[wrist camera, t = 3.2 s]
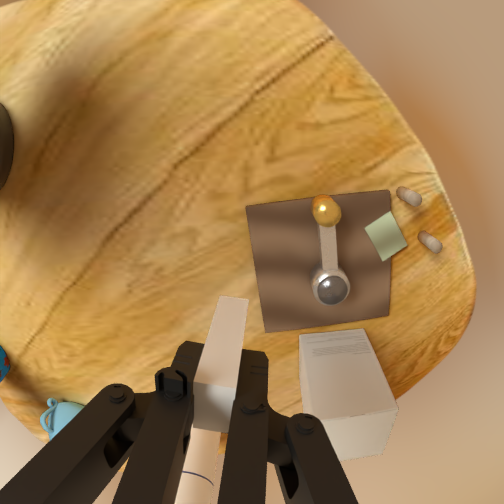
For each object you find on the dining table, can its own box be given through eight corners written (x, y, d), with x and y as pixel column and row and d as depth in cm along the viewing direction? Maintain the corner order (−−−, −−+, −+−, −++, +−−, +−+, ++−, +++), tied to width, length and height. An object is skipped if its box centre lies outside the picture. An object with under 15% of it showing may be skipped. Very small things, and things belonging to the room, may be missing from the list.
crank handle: (344, 289, 37) (351, 305, 33) (310, 293, 37) (315, 310, 34) (338, 191, 33) (347, 198, 29) (301, 195, 33) (305, 203, 30)
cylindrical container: (230, 428, 48) (214, 562, 25) (195, 436, 50) (170, 559, 27) (207, 403, 46) (179, 548, 23) (171, 412, 48) (134, 543, 24)
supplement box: (298, 382, 44) (306, 467, 30) (298, 332, 41) (310, 421, 27) (359, 376, 43) (383, 456, 29) (366, 326, 40) (401, 408, 26)
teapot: (47, 382, 48) (22, 418, 39) (117, 411, 49) (98, 453, 39) (59, 425, 53) (41, 458, 44) (120, 450, 54) (106, 487, 44)
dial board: (245, 203, 35) (243, 212, 31) (427, 184, 33) (444, 191, 29) (265, 329, 41) (265, 348, 37) (422, 305, 39) (434, 321, 35)
